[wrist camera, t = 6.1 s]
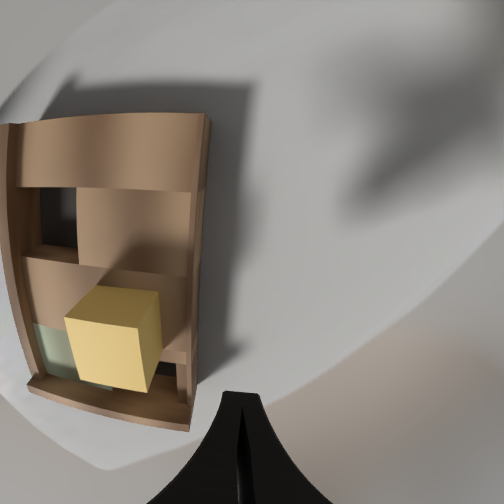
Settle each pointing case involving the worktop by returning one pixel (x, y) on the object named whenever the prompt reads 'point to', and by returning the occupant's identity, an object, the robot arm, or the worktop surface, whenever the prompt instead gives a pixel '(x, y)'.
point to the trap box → (105, 245)
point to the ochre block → (116, 336)
